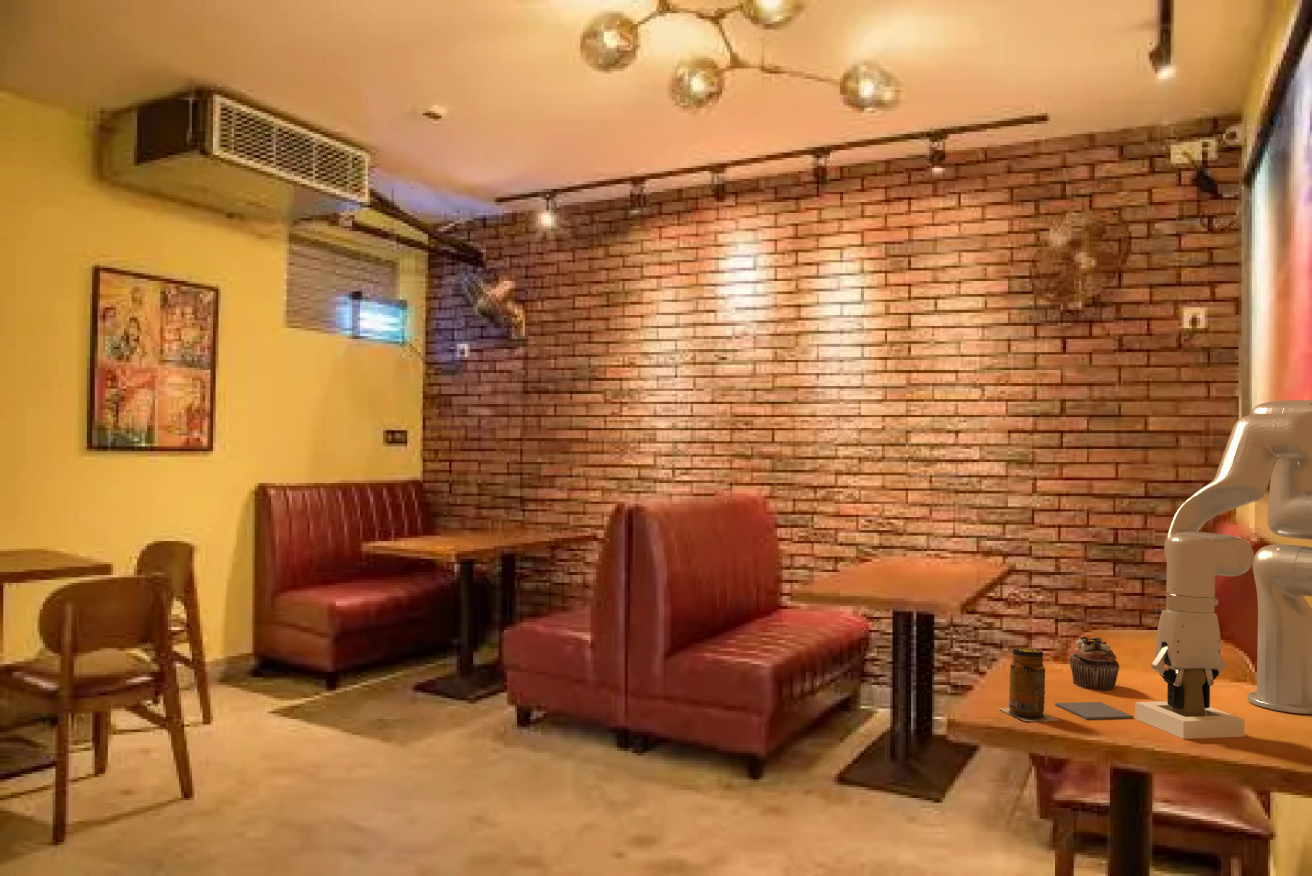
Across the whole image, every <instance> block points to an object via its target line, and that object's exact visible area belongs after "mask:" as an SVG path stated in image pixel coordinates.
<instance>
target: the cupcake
mask: <svg viewBox="0 0 1312 876" xmlns="http://www.w3.org/2000/svg"><path fill="white" fill-rule="evenodd" d="M1075 645H1076V647H1075V648H1074V649H1073V653H1072V654H1071V655H1070V657H1069V659H1068V662H1069V665H1070V670H1071V675H1072V683H1073V685H1075V686H1076V685H1077V686H1076V687H1080V688H1082V689H1086V690H1091V689H1092V690H1093V691H1105V692H1106V691H1107V692H1108V691H1114V689H1115V686H1116V684H1117V683H1116V682H1117V678H1118V675H1119V670H1120V664H1119V662H1118V661H1117V656H1116V654H1115V653H1114V651H1113V650H1112V649H1111V645H1110V644H1109V643H1107V642H1106V641H1103V640H1102V638H1100V637H1094V638H1088V637H1087V636H1081V637H1080V638H1079V639H1078V640H1076V641H1075ZM1092 690H1091V691H1092Z"/></svg>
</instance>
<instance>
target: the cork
mask: <svg viewBox="0 0 1312 876" xmlns="http://www.w3.org/2000/svg"><path fill="white" fill-rule="evenodd" d="M1173 675H1174V676H1175V670H1174V673H1173ZM1205 680H1206V675H1205V672H1204V671H1203V669H1186V670H1184V673H1183V677H1182V681H1181V685H1180V686H1182V687H1183V688H1184V707H1183V709H1178V708H1175V707H1172V708H1171V711H1172V712H1174V713H1177V714H1179V715H1182V716H1185V717H1199V716H1206V713H1205V705H1204V698H1203V690H1202V685H1203V684H1204V683H1205Z"/></svg>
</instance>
